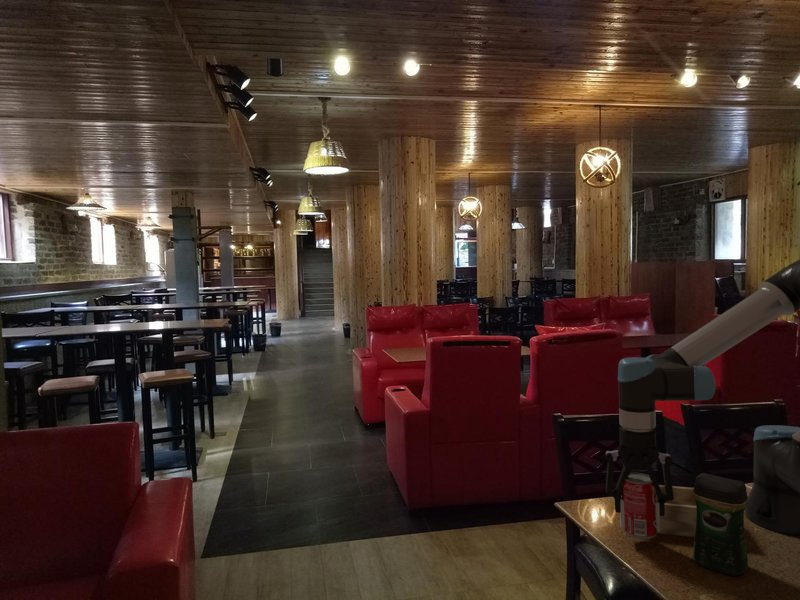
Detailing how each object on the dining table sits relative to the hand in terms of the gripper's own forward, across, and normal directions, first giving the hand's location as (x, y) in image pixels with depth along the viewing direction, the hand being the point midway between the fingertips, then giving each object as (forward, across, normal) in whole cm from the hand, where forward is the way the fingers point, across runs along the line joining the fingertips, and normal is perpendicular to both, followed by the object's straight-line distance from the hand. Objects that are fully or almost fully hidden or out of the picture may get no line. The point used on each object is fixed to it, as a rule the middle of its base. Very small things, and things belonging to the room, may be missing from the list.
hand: (639, 527), depth 120 cm
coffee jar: (+4, -15, +5) cm, 16 cm away
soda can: (+2, 0, 0) cm, 2 cm away
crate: (+4, -8, -12) cm, 15 cm away
